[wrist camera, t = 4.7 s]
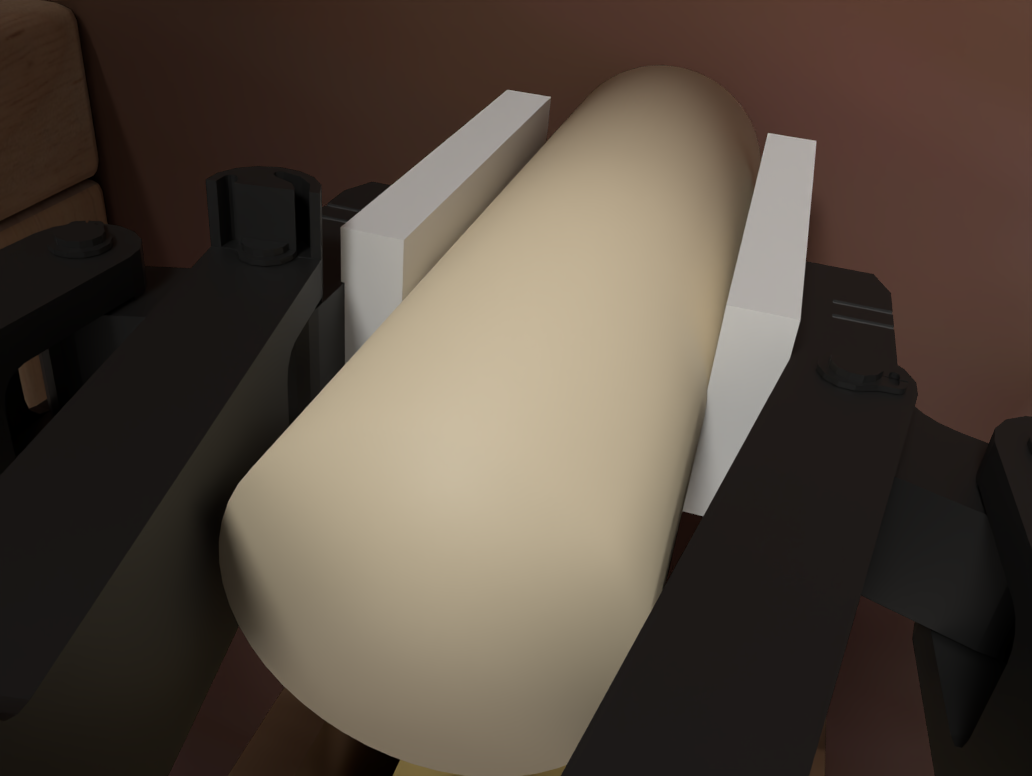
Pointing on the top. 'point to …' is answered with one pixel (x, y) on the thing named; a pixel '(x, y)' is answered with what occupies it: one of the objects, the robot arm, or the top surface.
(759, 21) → the top surface
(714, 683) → the robot arm
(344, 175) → the top surface
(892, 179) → the top surface
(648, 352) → the block
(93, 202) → the wooden block
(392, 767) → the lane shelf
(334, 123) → the top surface
